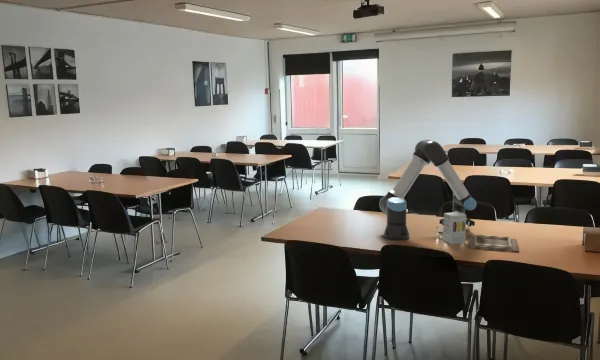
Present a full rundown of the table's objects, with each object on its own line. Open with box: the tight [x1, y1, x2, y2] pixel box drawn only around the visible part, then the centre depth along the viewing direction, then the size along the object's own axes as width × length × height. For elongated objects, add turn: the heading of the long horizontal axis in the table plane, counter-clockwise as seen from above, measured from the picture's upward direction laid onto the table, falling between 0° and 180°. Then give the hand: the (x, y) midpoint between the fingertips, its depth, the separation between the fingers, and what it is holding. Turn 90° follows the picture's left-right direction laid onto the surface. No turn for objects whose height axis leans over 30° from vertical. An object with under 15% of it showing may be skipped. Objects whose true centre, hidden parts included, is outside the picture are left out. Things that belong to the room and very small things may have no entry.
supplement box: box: [442, 211, 467, 245], centre depth 297 cm, size 10×9×17 cm
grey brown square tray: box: [467, 234, 519, 253], centre depth 291 cm, size 26×24×2 cm
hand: (456, 225), depth 299 cm, fingers open, 13 cm apart
